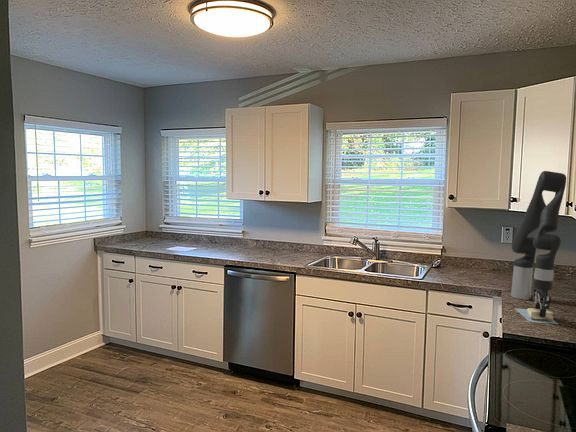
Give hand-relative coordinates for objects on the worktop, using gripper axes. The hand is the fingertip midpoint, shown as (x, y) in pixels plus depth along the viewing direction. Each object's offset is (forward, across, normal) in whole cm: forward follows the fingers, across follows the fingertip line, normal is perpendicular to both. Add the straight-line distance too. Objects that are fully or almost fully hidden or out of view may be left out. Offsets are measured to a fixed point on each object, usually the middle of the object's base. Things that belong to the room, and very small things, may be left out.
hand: (539, 314), depth 199 cm
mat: (+2, +5, 0) cm, 6 cm away
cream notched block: (+1, 0, 0) cm, 1 cm away
